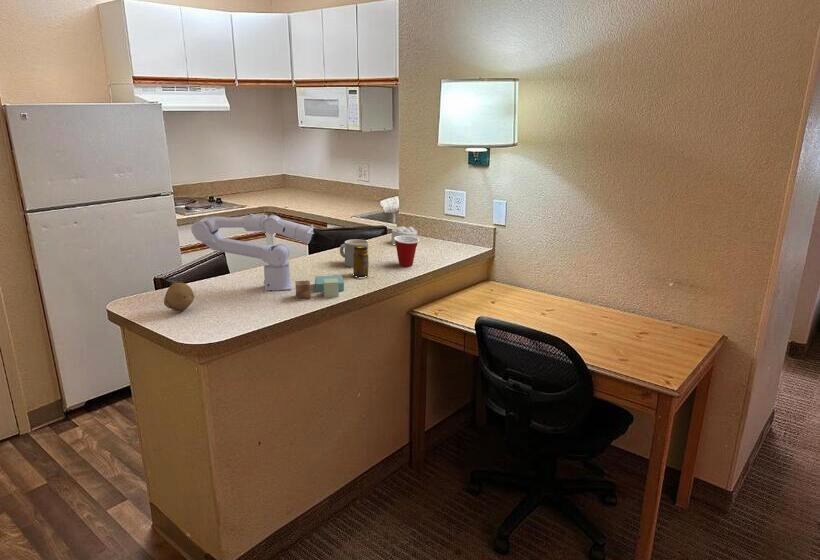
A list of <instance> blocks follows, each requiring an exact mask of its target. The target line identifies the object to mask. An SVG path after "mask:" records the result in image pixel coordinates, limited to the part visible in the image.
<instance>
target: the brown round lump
mask: <svg viewBox="0 0 820 560" xmlns="http://www.w3.org/2000/svg"><path fill="white" fill-rule="evenodd" d="M194 299H195V295H194V291H193V289H192V288H191V286H190V285H188V284H187V283H185V282H174V283H172V284H171V285H170V286H169V287H168V288H167V291H166V292H165V296H164V297H163V303H164V306H165V307H167V308H168V309H171V310H173V311H175V312H178V311H182V312H184V311H185V310H187V309H188V308H189V307H190V306H191V304H192V303H193V302H194Z"/></svg>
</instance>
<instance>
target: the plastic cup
mask: <svg viewBox="0 0 820 560" xmlns="http://www.w3.org/2000/svg"><path fill="white" fill-rule="evenodd" d="M394 240H395V243H396V246H395V248H396V254H397V259H398V264H399V266H400V267H402V266H403V268H409V267H412V266H414V265H413V264H414V260H415V255H416V250H417V249H416V248H417V247H418V243H419V242H420V239H419V237H417V238H416V237H412V236H396V237H394Z"/></svg>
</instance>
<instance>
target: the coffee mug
mask: <svg viewBox="0 0 820 560" xmlns="http://www.w3.org/2000/svg"><path fill="white" fill-rule="evenodd" d="M357 245H364V246H367V252H368V253H369V241H368V240H366V239H357V238H356V239H354V238H353V239H348V240H345V241H344V243H342V244H341V245H340V246H339V253H340V256H341V257H342V258H344V266H345V267H347V268H351V267H352V268H353V254H354V247H355V246H357Z"/></svg>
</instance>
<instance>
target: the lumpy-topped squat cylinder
mask: <svg viewBox="0 0 820 560" xmlns="http://www.w3.org/2000/svg"><path fill="white" fill-rule="evenodd" d="M396 236H412V237H416V238H418V231H417V229H415V228H414V227H413V226H407V227H406V226H396V227H395V228H393V229H391V245H392V244H395V245H396V243H395V240H394V237H396Z"/></svg>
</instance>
